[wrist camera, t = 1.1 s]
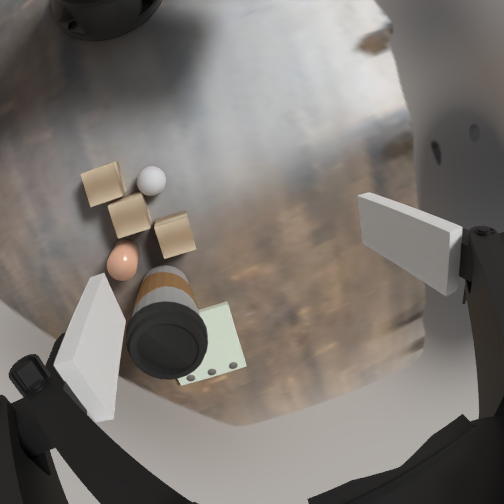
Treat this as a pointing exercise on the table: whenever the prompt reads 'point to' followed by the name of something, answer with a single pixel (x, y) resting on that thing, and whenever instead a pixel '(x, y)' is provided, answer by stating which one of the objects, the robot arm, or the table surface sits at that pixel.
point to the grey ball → (151, 181)
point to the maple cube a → (103, 184)
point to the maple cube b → (130, 214)
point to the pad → (218, 345)
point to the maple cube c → (174, 234)
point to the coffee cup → (166, 326)
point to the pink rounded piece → (123, 260)
